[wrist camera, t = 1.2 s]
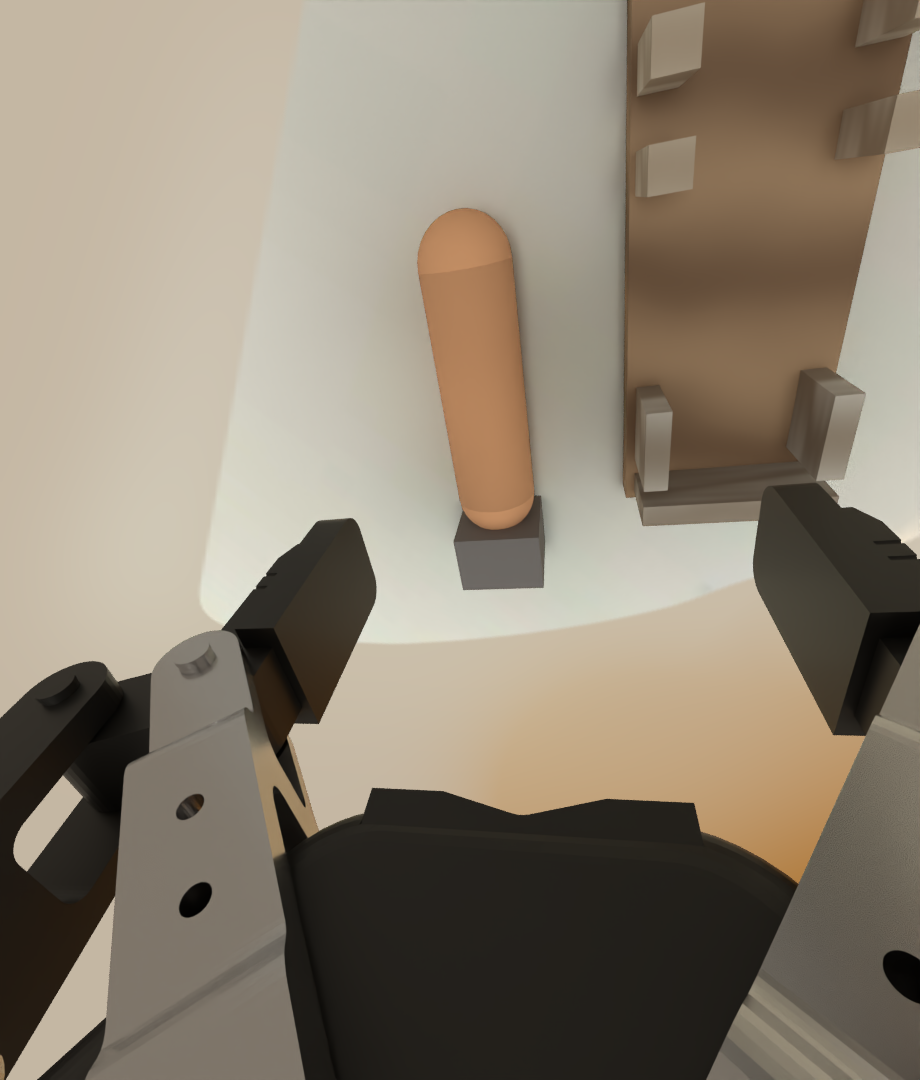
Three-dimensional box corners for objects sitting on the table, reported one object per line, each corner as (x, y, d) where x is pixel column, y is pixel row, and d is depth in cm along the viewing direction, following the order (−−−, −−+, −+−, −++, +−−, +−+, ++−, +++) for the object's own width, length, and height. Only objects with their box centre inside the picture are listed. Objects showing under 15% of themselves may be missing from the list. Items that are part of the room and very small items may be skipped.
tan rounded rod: (416, 216, 23) (389, 221, 19) (514, 197, 22) (506, 199, 18) (473, 545, 32) (463, 590, 29) (544, 541, 31) (543, 587, 28)
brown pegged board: (628, -78, 17) (648, -161, 13) (931, -167, 15) (1067, -298, 11) (623, 484, 28) (633, 533, 24) (798, 472, 26) (842, 524, 22)
